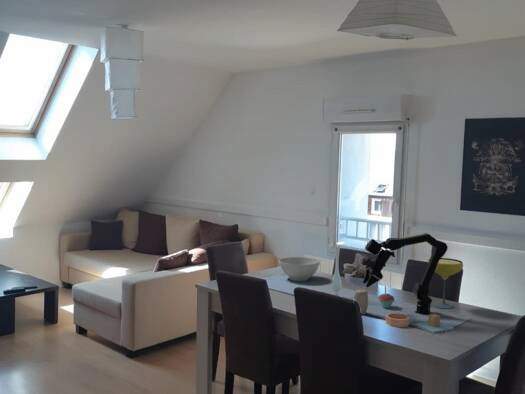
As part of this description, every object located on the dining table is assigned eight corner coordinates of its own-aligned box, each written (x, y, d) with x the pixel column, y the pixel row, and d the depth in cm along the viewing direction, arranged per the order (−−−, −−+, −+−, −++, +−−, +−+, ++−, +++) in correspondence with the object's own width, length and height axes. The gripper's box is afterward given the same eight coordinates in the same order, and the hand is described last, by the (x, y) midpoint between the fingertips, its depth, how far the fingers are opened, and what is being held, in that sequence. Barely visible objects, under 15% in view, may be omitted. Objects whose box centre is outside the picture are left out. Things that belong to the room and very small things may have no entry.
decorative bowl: (270, 279, 359) (271, 261, 358) (292, 272, 380) (292, 255, 380) (306, 285, 343) (306, 266, 342) (326, 278, 365) (327, 260, 364)
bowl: (398, 319, 275) (399, 312, 275) (414, 326, 265) (414, 318, 265) (381, 322, 270) (381, 314, 270) (396, 329, 261) (396, 320, 260)
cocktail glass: (468, 307, 299) (469, 262, 297) (447, 312, 289) (449, 265, 287) (440, 299, 314) (441, 256, 312) (419, 304, 304) (421, 259, 301)
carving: (367, 315, 282) (368, 292, 281) (353, 314, 284) (353, 291, 283) (367, 311, 289) (368, 289, 288) (353, 310, 290) (353, 288, 289)
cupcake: (390, 309, 293) (391, 287, 292) (375, 307, 297) (376, 285, 296) (396, 306, 300) (396, 284, 299) (381, 303, 305) (381, 282, 304)
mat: (434, 321, 273) (434, 320, 273) (457, 330, 259) (457, 329, 259) (410, 325, 266) (410, 324, 266) (433, 335, 253) (433, 334, 253)
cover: (434, 321, 271) (434, 310, 271) (454, 329, 260) (454, 317, 259) (414, 325, 265) (414, 313, 265) (433, 333, 254) (433, 320, 253)
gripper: (365, 248, 293) (349, 273, 294) (371, 254, 275) (354, 280, 276) (382, 259, 294) (366, 284, 295) (390, 266, 275) (373, 292, 276)
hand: (365, 285), depth 285 cm, fingers open, 9 cm apart
